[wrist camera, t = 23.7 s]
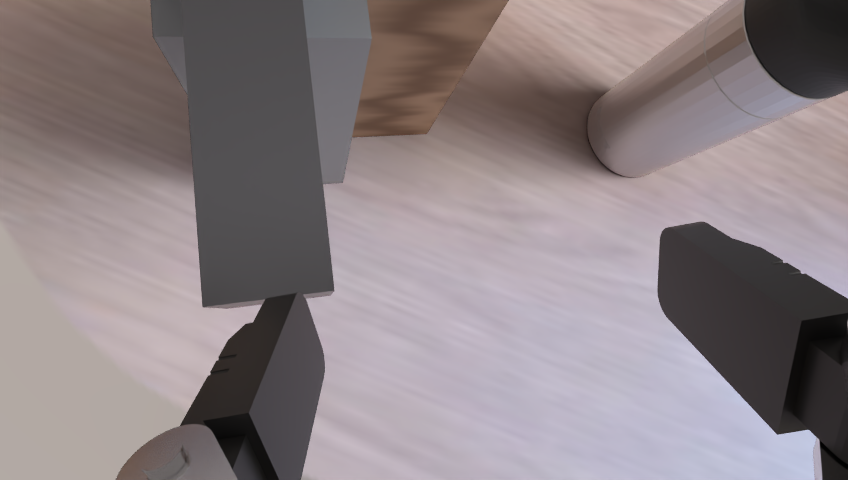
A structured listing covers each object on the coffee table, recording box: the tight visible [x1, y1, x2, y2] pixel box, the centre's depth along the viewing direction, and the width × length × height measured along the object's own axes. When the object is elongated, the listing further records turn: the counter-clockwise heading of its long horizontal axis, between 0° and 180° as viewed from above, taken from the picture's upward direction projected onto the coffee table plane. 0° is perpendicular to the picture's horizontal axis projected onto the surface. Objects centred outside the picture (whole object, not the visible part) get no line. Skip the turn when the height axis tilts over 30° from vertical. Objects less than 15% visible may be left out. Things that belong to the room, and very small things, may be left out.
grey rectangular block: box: [151, 0, 372, 184], centre depth 28 cm, size 8×10×21 cm
